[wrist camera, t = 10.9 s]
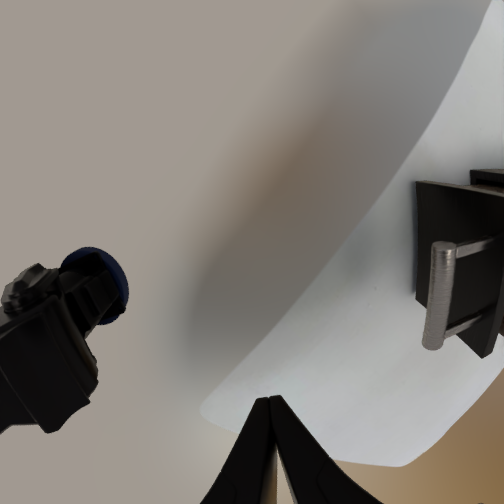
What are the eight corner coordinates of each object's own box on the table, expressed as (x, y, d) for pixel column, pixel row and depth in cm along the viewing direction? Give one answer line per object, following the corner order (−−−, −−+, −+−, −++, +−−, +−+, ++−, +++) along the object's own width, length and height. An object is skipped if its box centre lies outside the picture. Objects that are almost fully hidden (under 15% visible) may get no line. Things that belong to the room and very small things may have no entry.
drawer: (368, 312, 21) (427, 388, 12) (362, 187, 19) (453, 206, 9) (485, 274, 21) (547, 312, 12) (488, 176, 18) (564, 190, 9)
